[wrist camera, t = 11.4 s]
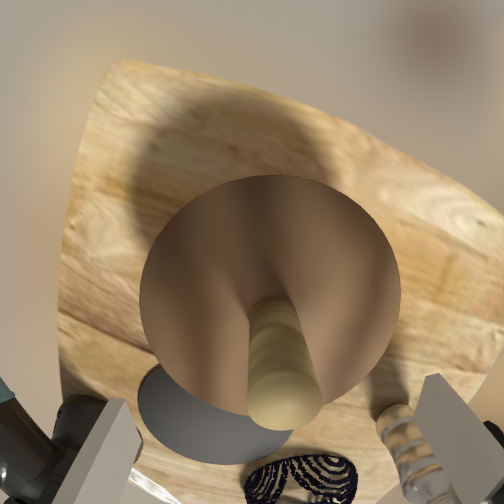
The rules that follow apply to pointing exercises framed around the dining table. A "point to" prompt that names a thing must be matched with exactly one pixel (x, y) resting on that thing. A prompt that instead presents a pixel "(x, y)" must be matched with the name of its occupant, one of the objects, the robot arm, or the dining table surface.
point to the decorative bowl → (303, 480)
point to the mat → (202, 425)
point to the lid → (270, 298)
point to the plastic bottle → (412, 457)
